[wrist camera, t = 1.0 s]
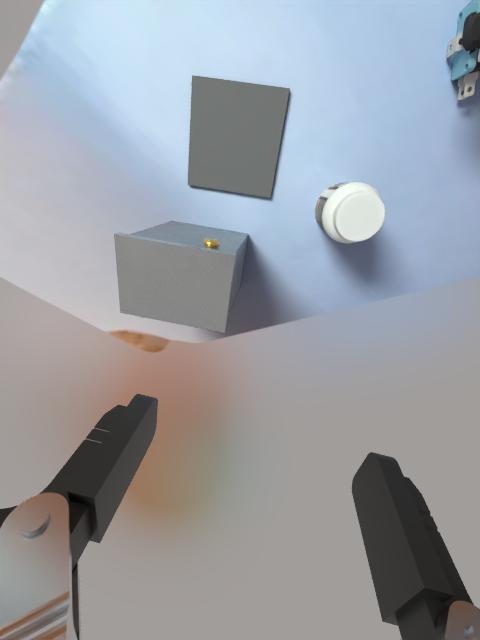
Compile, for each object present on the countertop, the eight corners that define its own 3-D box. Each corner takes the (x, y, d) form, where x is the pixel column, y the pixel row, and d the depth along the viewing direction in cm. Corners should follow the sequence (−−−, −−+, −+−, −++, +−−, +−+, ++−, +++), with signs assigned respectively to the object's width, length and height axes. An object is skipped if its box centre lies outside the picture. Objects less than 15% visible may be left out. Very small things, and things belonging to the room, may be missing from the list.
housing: (169, 216, 34) (114, 231, 23) (251, 230, 33) (235, 253, 22) (169, 275, 38) (120, 313, 26) (242, 288, 37) (224, 333, 26)
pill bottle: (338, 241, 32) (358, 262, 24) (304, 214, 32) (313, 225, 23) (373, 202, 30) (409, 209, 21) (337, 172, 29) (361, 166, 21)
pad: (193, 76, 27) (192, 75, 27) (289, 89, 27) (289, 88, 26) (188, 184, 32) (187, 184, 32) (270, 197, 31) (270, 197, 31)
